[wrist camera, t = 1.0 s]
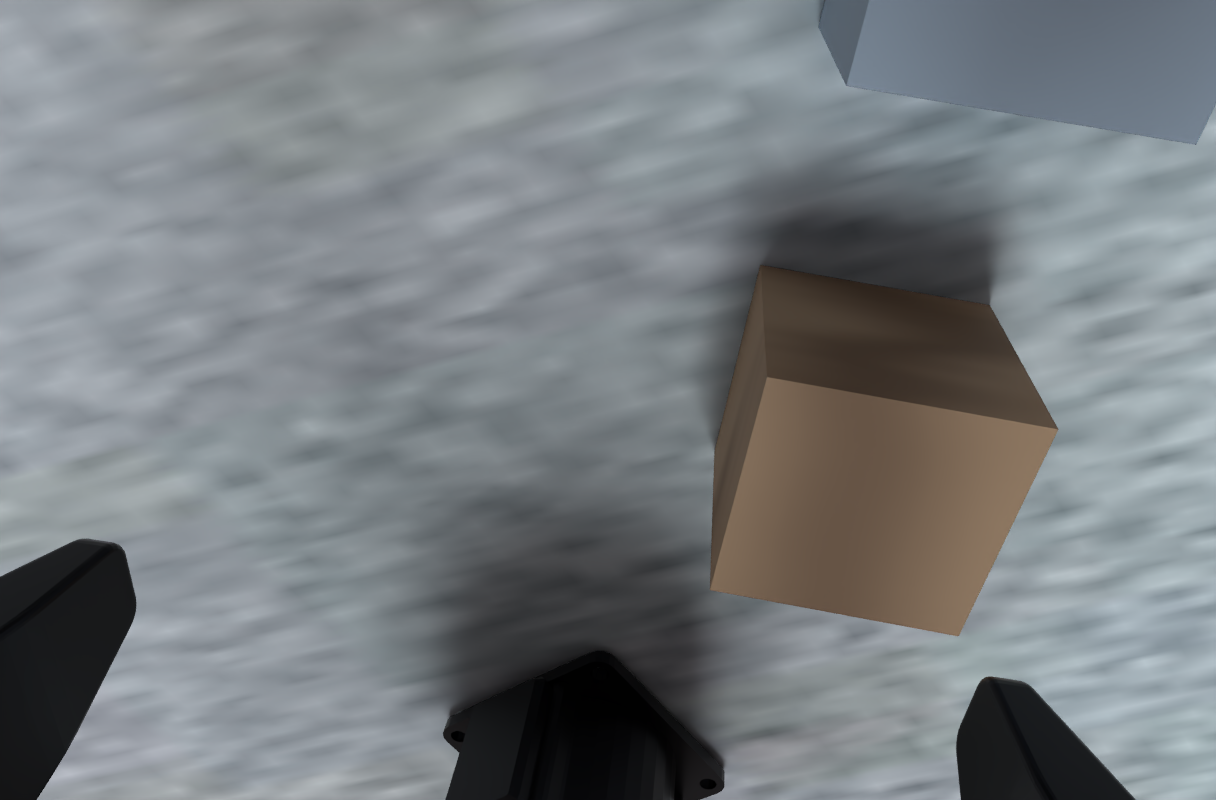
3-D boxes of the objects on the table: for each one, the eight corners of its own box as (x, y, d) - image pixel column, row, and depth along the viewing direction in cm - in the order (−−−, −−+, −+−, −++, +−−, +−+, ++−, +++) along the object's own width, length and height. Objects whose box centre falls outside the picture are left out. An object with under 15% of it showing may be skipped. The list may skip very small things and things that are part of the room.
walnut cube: (989, 304, 20) (1058, 429, 16) (916, 486, 22) (958, 636, 18) (760, 263, 20) (767, 377, 16) (714, 449, 23) (710, 590, 18)
